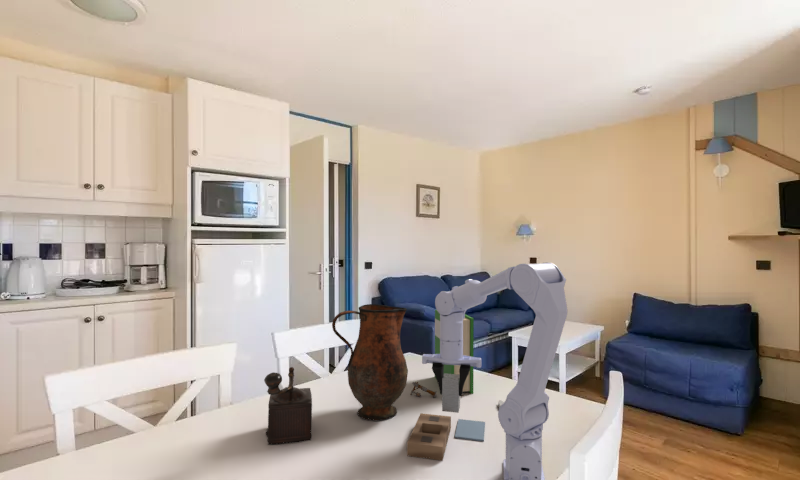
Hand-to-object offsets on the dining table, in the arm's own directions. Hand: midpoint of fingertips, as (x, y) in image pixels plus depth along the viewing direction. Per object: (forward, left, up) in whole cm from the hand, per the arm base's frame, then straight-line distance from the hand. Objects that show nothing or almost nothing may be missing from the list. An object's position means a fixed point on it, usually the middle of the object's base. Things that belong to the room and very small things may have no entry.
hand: (451, 393), depth 100 cm
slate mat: (+4, -4, -10) cm, 12 cm away
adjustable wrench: (+13, -16, -11) cm, 23 cm away
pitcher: (+7, +24, -11) cm, 27 cm away
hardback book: (+36, +4, -11) cm, 38 cm away
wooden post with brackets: (+23, +11, -11) cm, 28 cm away
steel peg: (0, 0, -4) cm, 4 cm away
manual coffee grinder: (-11, +39, -11) cm, 41 cm away
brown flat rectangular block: (-4, +5, -10) cm, 12 cm away
